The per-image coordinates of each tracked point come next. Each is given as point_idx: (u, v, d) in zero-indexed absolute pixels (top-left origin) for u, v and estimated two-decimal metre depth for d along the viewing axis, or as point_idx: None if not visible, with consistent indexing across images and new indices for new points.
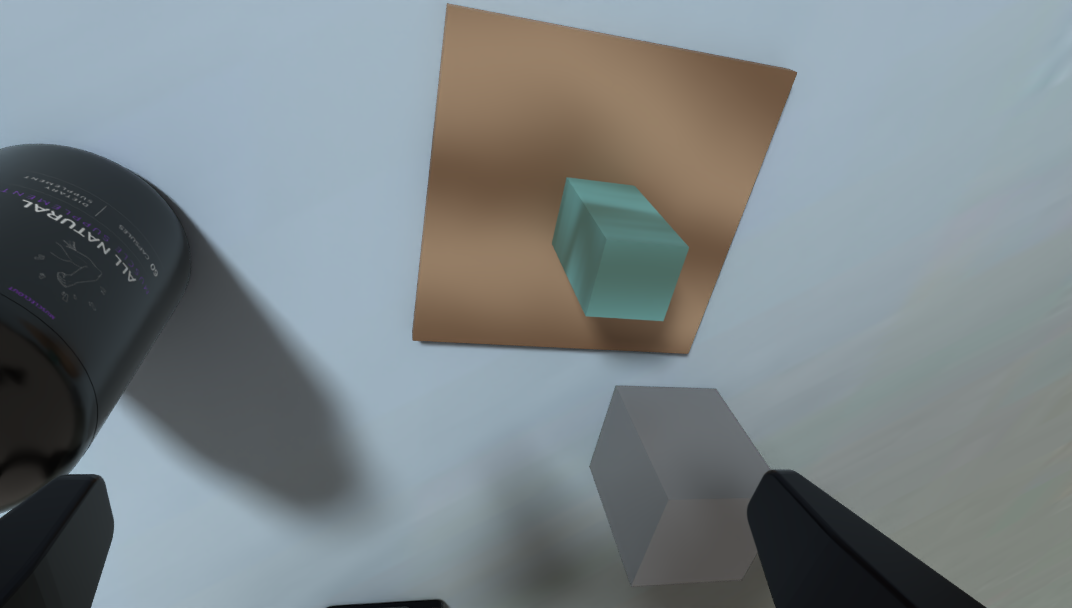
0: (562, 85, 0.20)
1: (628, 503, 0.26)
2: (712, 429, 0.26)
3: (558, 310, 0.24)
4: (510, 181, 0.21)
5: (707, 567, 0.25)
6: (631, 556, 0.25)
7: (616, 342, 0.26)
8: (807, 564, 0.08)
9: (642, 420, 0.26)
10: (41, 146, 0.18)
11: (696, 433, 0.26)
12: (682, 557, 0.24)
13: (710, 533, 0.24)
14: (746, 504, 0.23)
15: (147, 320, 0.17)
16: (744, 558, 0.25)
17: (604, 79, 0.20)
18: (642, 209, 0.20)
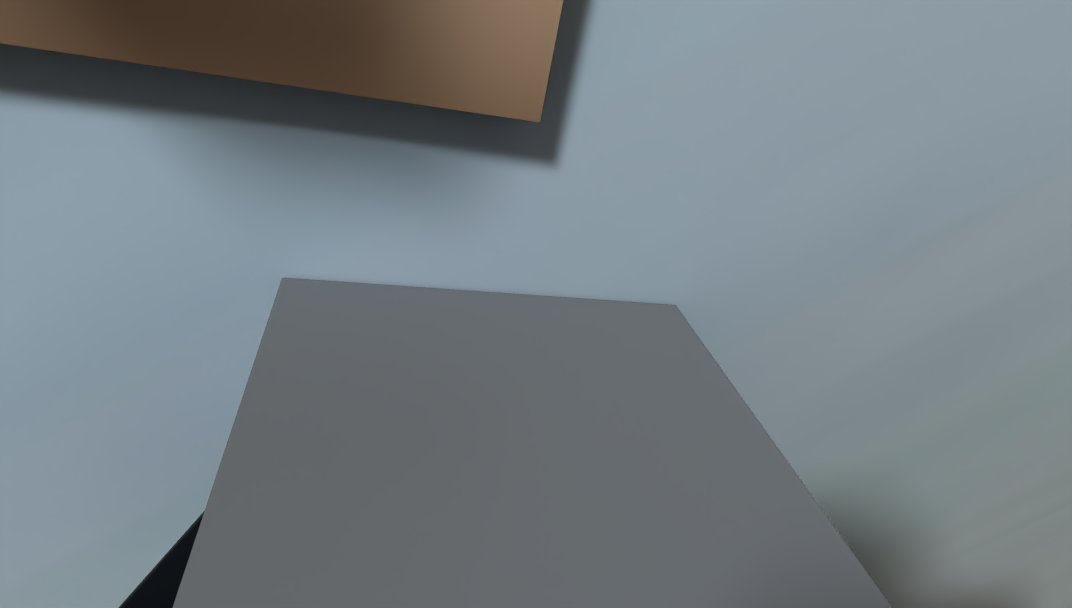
0: None
1: None
2: (641, 449, 0.06)
3: None
4: None
5: None
6: None
7: (147, 16, 0.05)
8: None
9: (299, 408, 0.05)
10: None
11: (556, 468, 0.05)
12: None
13: None
14: None
15: None
16: None
17: None
18: None
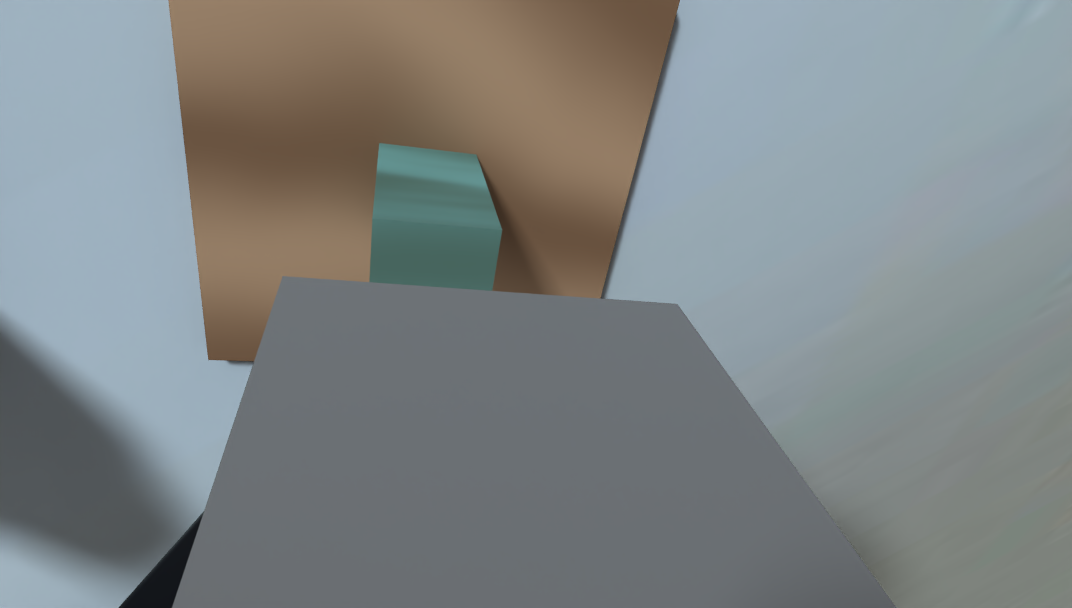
0: (350, 13, 0.14)
1: None
2: (643, 447, 0.06)
3: None
4: (301, 148, 0.16)
5: None
6: None
7: None
8: None
9: (300, 407, 0.05)
10: None
11: (557, 467, 0.05)
12: None
13: None
14: None
15: None
16: None
17: (409, 4, 0.14)
18: (465, 181, 0.15)
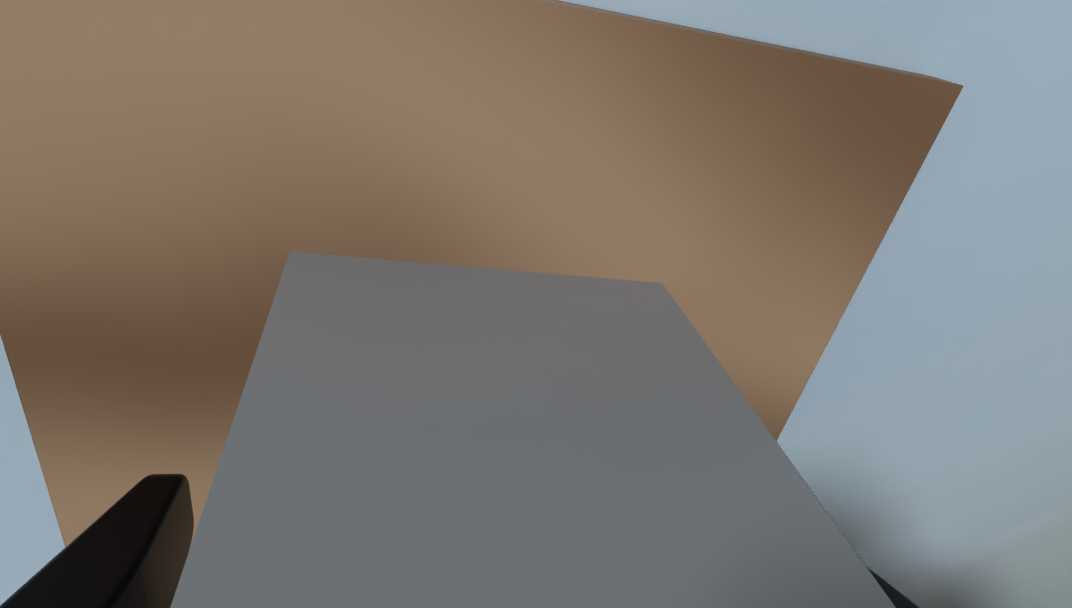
0: (333, 124, 0.07)
1: None
2: (624, 405, 0.06)
3: None
4: (241, 358, 0.08)
5: None
6: None
7: None
8: None
9: (308, 364, 0.06)
10: None
11: (544, 420, 0.06)
12: None
13: None
14: None
15: None
16: None
17: (455, 105, 0.07)
18: None
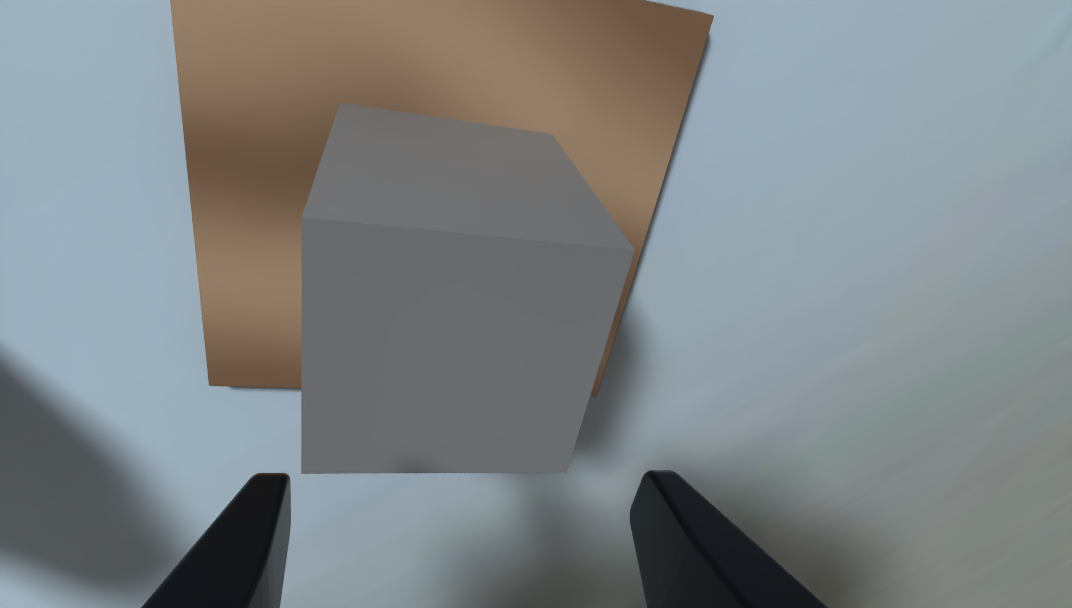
0: (365, 29, 0.13)
1: None
2: (510, 162, 0.13)
3: None
4: (310, 169, 0.15)
5: (476, 435, 0.12)
6: None
7: None
8: (673, 571, 0.08)
9: (356, 134, 0.12)
10: None
11: (467, 161, 0.12)
12: (405, 403, 0.11)
13: (456, 339, 0.10)
14: (527, 259, 0.10)
15: None
16: (559, 418, 0.12)
17: (428, 20, 0.14)
18: None
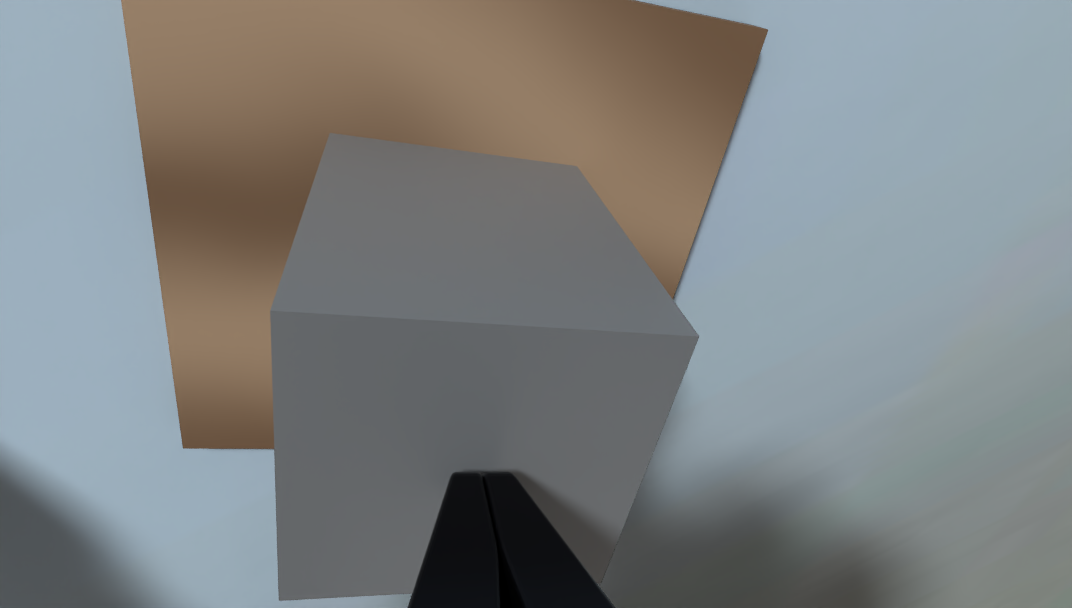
0: (359, 47, 0.11)
1: None
2: (532, 208, 0.11)
3: None
4: (295, 209, 0.13)
5: None
6: None
7: None
8: None
9: (347, 177, 0.10)
10: None
11: (482, 208, 0.10)
12: (406, 519, 0.09)
13: (471, 446, 0.08)
14: (564, 351, 0.08)
15: None
16: (596, 526, 0.10)
17: (434, 36, 0.11)
18: None
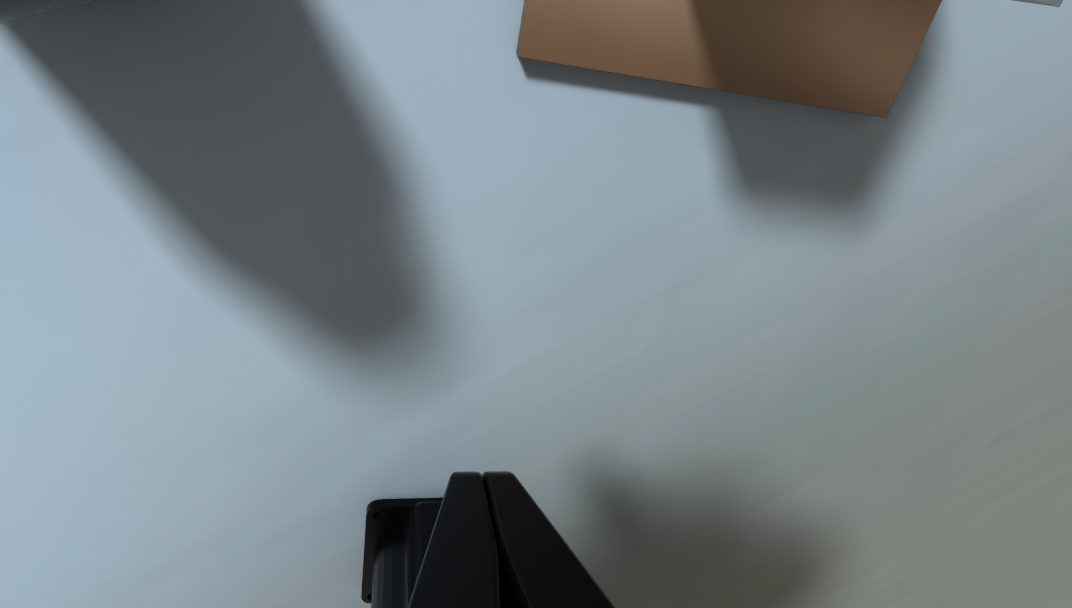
0: None
1: None
2: None
3: (727, 21, 0.17)
4: None
5: None
6: None
7: (796, 88, 0.18)
8: None
9: None
10: None
11: None
12: None
13: None
14: None
15: None
16: None
17: None
18: None
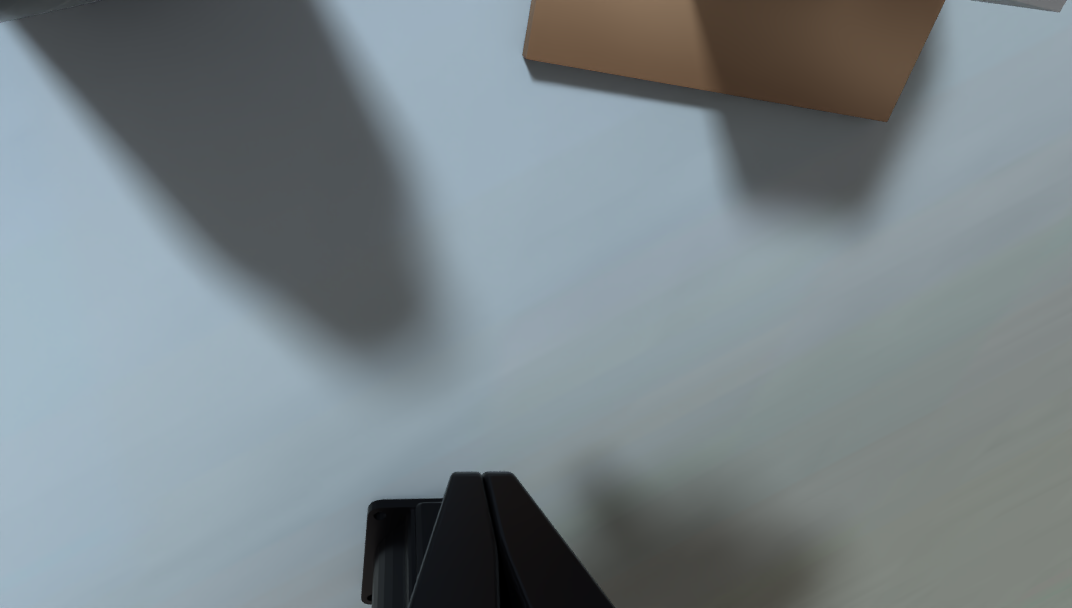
0: None
1: None
2: None
3: (731, 25, 0.17)
4: None
5: None
6: None
7: (798, 92, 0.18)
8: None
9: None
10: None
11: None
12: None
13: None
14: None
15: None
16: None
17: None
18: None
